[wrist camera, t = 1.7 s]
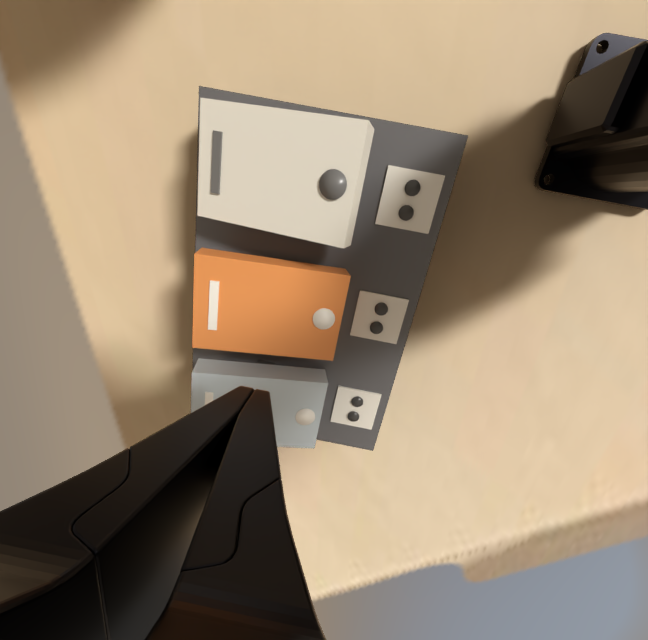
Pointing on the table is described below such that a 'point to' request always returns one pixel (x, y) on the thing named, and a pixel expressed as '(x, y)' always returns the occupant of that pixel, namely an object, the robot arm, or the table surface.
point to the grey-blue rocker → (285, 392)
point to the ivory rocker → (282, 169)
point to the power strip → (360, 265)
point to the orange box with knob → (267, 305)
